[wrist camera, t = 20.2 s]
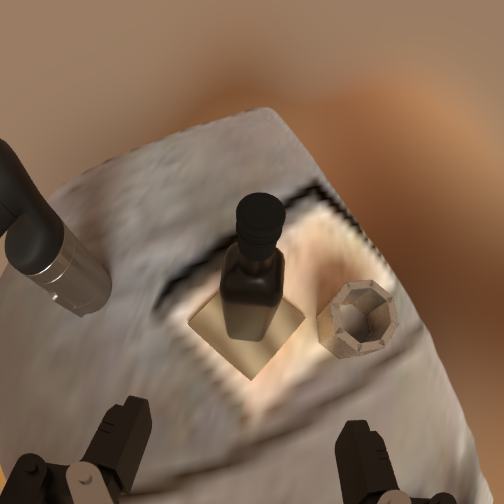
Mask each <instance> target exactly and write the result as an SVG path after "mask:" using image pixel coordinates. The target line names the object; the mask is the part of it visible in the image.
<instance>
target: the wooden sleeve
mask: <svg viewBox="0 0 504 504" xmlns="http://www.w3.org/2000/svg"><path fill="white" fill-rule="evenodd" d="M347 304H353V305H354V306H356V307H357V308H358V309H359V310H361V311H362V312H363V313H364V314H366V315H367V321H368V327H369V333H370V334H369V335H368V337H367V338H366V340H365V341H364V343H359V342H358V341H357V340H356V339H354V338H353V337H352V336H351V335H349V334H348V333H347V332H346V331H344V330H343V328H342V321H341V315H340V308H339V306H340V305H347ZM316 319H317V327H318V335H319V343H320V344H321V345H322V346H323V347H325V348H326V349H327V350H328V351H330V352H331V353H332V354H333V355H335V356H336V357H337V358H339V359H344V358H350V357H357V356H362V355H366V354H369V353H372V352H375V351H377V350H380V349H383V348H385V347H386V345H387V343H388V342H389V340H390V339H391V337H392V335H393V334H394V332H395V330H396V328H397V327H398V325H399V322H398V317H397V312H396V307H395V302H394V297H393V296H392V295H390V294H389V293H388V292H387V291H385V290H384V289H383V288H382V287H381V286H379V285H378V284H377V283H376V282H374V281H373V280H366V281H354V282H346V283H345V284H344V285H343V286H342V288H341V289H340V290H339V291H338V292H337V293H336V294H335V295H334V296H333V297H332V298H331V300H330V301H329V302H328V304H327V305H326V306H325V308H324V309H323V310H322V311H321V313H320V314H319V315H318V317H317V318H316Z"/></svg>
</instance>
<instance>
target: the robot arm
mask: <svg viewBox="0 0 504 504" xmlns="http://www.w3.org/2000/svg"><path fill="white" fill-rule="evenodd" d="M7 230H8V231H7ZM6 231H7V234H6V238H5V254H6V257H7V259H8V261H9V263H10V264H11V265H12V266H13V267H14V268H15V269H17V270H18V271H19V272H21V273H22V274H24V275H25V276H26V277H28V278H29V279H30V280H32V281H33V282H35V283H36V284H38V285H39V286H40V287H42V288H43V289H45V290H46V291H47V292H48V294H49V295H50V297H51V298H52V300H53V301H54V302H56V303H58V304H59V305H61V306H62V307H64V308H66V309H67V310H69V311H71V312H72V313H74V314H76V315H78V316H79V317H82V316H83V315H85V314H87V313H93V312H96V311H97V310H99V309H100V308H102V307H103V306H104V305H105V303H106V302H107V300H108V298H109V296H110V293H111V285H112V284H111V279H110V276H109V274H108V272H107V271H106V270H105V269H104V267H103V266H102V265H101V264H100V263H99V262H98V261H97V260H96V259H95V258H94V257H93V256H92V255H91V253H90V252H89V251H88V250H87V249H86V248H85V247H84V246H83V244H82V243H81V242H80V241H79V240H78V239H77V238H76V236H75V235H74V234H73V233H72V232H71V230H70V229H69V228H68V227H67V226H66V224H65V223H64V222H63V221H62V220H61V218H60V217H59V216H58V215H57V214H56V213H55V211H54V210H53V209H52V208H51V207H50V206H49V204H48V203H47V202H46V200H45V199H44V198H43V196H42V195H41V194H40V192H39V191H38V189H37V188H36V186H35V184H34V183H33V181H32V180H31V178H30V176H29V175H28V173H27V171H26V170H25V168H24V166H23V165H22V163H21V162H20V160H19V158H18V157H17V155H16V154H15V152H14V151H13V150H12V148H11V147H10V146H9V145H8V144H7V143H6V142H5V141H4V140H2V139H0V238H1V236H2V235H3V234H4V233H5V232H6ZM151 429H152V419H151V414H150V408H149V403H148V400H147V399H143V398H139V397H135V396H131V395H130V396H128V398H127V399H126V401H125V403H124V406H121V405H117V404H115V405H114V406H113V407H112V408H110V409H109V410H108V411H107V412H106V414H105V416H104V418H103V420H102V423H100V425H99V427H98V430H97V431H96V433H95V435H94V437H93V439H92V441H91V443H90V445H89V447H88V449H87V451H86V453H85V455H84V457H83V458H82V459H81V460H80V461H79V462H76V463H73V464H72V465H69V466H64V465H57V464H50V463H45V461H44V460H43V459H42V458H41V457H40V456H38V455H36V454H32V453H28V454H24V455H22V456H21V457H20V458H19V459H18V461H17V462H16V464H15V466H14V468H13V470H12V472H11V474H10V476H9V478H8V480H7V482H6V485H5V487H4V489H3V491H2V493H1V495H0V504H120V503H119V501H118V500H119V497H120V494H121V492H122V493H125V494H128V495H129V494H130V491H131V488H132V485H133V482H134V479H135V476H136V473H137V470H138V468H139V465H140V462H141V459H142V456H143V453H144V450H145V448H146V445H147V442H148V439H149V437H150V434H151ZM335 456H336V462H337V468H338V473H339V479H340V485H341V491H342V497H343V503H344V504H457V503H456V500H455V498H454V497H453V496H452V495H451V494H449V493H445V492H442V493H438V494H436V495H435V496H433V497H432V498H431V499H426V498H411V497H409V496H408V495H407V494H406V493H405V492H403V491H400V489H399V487H398V485H397V481H396V478H395V475H394V471H393V468H392V465H391V462H390V459H389V456H388V452H387V451H386V446H385V443H384V440H383V439H382V437H381V436H380V435H379V434H378V433H377V432H376V431H370V429H369V426H368V423H367V421H366V420H349V421H347V422H346V424H345V426H344V428H343V429H342V431H341V433H340V435H339V437H338V439H337V441H336V444H335Z"/></svg>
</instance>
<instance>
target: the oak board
mask: <svg viewBox="0 0 504 504" xmlns="http://www.w3.org/2000/svg"><path fill="white" fill-rule="evenodd" d="M305 318H306V317H305V316H303V315H302V314H301V313H300V312H298V311H297V310H296V309H295V308H294V307H292V306H291V305H290V304H289V303H287V302H286V301H285V300H284V299H282V300H281V302H280V305H279V307H278V309H277V311H276V313H275V315H274V317H273V319H272V322H271V324H270V326H269V328H268V330H267V332H266V334H265V336H264V338H263V339H262V340H261V341H258V342H253V341H244V340H235V339H231V338H229V336H228V335H227V331H226V325H225V320H224V315H223V309H222V303H221V298H220V291H219V292H218V293H217V294H216V295H215V296H214V297H213V298H212V299H211V300H210V301H209V303H208V304H207V305H206V306H205V307H204V308H203V309H202V310H201V311H200V312H199V313H198V314H197V315H196V316H195V317H194V318H193V319H192V320H191V321H190V322H189V323H188V325H189V326H190V327H191V328H192V329H193V330H194V331H195V332H196V333H197V334H198V335H200V336H201V337H202V338H203V339H204V340H205V341H206V342H207V343H208V344H209V345H210V346H212V347H213V348H214V349H215V350H216V351H217V352H218V353H219V354H220V355H222V356H223V357H224V358H225V359H226V360H227V361H228V362H229V363H231V364H232V365H233V366H234V367H235V368H236V369H238V370H239V371H240V372H241V373H242V374H243V375H245V376H246V377H247V378H248V379H249V380H250V381H252V380H253V378H254V377H255V376H256V375H257V374H258V373H259V372H260V371H261V370H262V368H263V367H264V366H265V365H266V364H267V363H268V362H269V361H270V359H271V358H272V357H273V356H274V355H275V354H276V353H277V351H278V350H279V349H280V348H281V347H282V346H283V344H284V343H285V342H286V341H287V340H288V339H289V337H290V336H291V335H292V334H293V333H294V331H295V330H296V329H297V328H298V327H299V325H300V324H301V323H302V322H303V320H304V319H305Z"/></svg>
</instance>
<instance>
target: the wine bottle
mask: <svg viewBox="0 0 504 504" xmlns="http://www.w3.org/2000/svg"><path fill="white" fill-rule="evenodd" d="M285 218H286V212H285V208H284V206H283V204H282V203H281V201H280V200H279V199H278V198H276V197H275V196H273V195H271V194H267V193H252V194H249V195H247V196H245V197H244V198H243V199H242V200H241V201H240V202H239V204H238V206H237V209H236V220H237V222H236V232H237V235H238V242H237V243H234V244H233V245H231V246H230V247H229V248H228V250H227V251H226V253H225V256H224V262H223V269H222V275H221V282H220V298H221V303H222V309H223V315H224V320H225V325H226V331H227V335H228V336H229V338H231V339H235V340H244V341H253V342H258V341H261V340H262V339H263V338H264V336H265V334H266V332H267V330H268V328H269V326H270V324H271V322H272V319H273V317H274V315H275V313H276V311H277V309H278V307H279V305H280V302H281V300H282V296H283V285H284V270H285V260H284V255H283V253H282V252H281V251H280V250H279V249H278V248H276V244H277V241H278V240H279V238H280V236H281V233H282V227H283V224H284V221H285Z"/></svg>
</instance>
